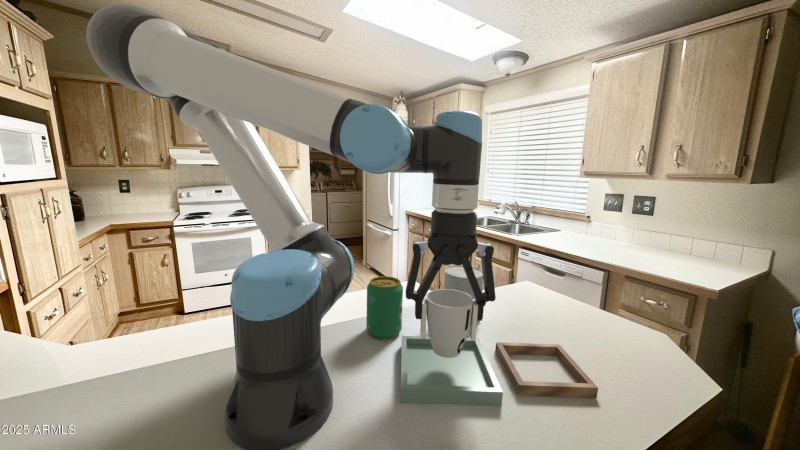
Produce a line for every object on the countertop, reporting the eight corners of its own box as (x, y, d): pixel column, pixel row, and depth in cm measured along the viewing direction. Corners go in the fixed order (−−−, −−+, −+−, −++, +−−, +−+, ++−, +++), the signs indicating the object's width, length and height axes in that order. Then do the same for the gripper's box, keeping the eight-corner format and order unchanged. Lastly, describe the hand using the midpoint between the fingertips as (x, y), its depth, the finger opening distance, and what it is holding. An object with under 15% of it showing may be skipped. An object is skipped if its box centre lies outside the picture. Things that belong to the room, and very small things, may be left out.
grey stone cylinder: (484, 328, 74) (488, 278, 72) (444, 326, 74) (447, 277, 72) (475, 310, 84) (478, 266, 81) (439, 309, 84) (442, 265, 82)
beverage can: (404, 339, 68) (406, 287, 66) (367, 341, 67) (368, 288, 65) (398, 322, 76) (400, 275, 74) (365, 323, 74) (366, 275, 72)
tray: (400, 402, 49) (401, 388, 49) (401, 346, 65) (401, 335, 65) (501, 406, 49) (502, 392, 49) (477, 349, 65) (478, 338, 65)
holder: (518, 395, 52) (519, 385, 51) (495, 351, 65) (496, 342, 64) (596, 398, 52) (598, 387, 51) (558, 353, 64) (559, 344, 64)
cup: (469, 366, 52) (473, 309, 50) (421, 359, 53) (423, 304, 52) (468, 340, 60) (472, 291, 58) (426, 335, 61) (428, 287, 59)
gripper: (390, 211, 48) (388, 345, 52) (525, 214, 48) (512, 349, 52) (392, 205, 56) (390, 323, 60) (509, 208, 56) (499, 327, 60)
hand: (447, 335), depth 56 cm, fingers closed on cup, 8 cm apart
